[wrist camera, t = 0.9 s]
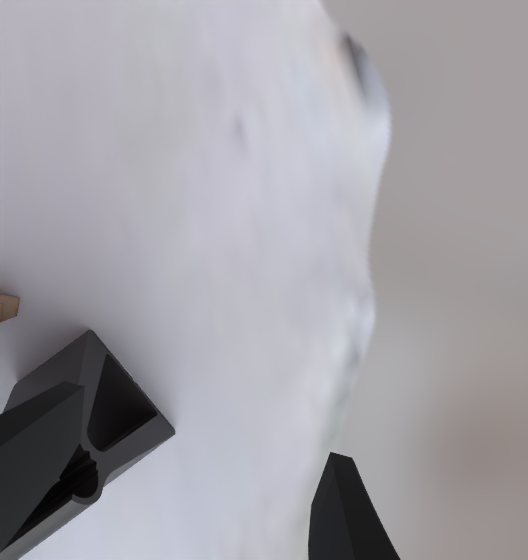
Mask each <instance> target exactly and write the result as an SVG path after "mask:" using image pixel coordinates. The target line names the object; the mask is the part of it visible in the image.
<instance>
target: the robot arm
mask: <svg viewBox="0 0 528 560" xmlns="http://www.w3.org/2000/svg"><path fill="white" fill-rule="evenodd" d="M84 389H85V386H81V385H78V384H74V383H70V382H67V381H64V382H62V383H60V384H58V385H56V386H54V387H52V388H50V389H48V390H46V391H44V392H42V393H40V394H39V395H37V396H35V397H33V398H31V399H29V400H27V401H25V402H23V403H21V404H20V405H18V406H16V407H14V408H12V409H10V410H8V411H6V412H4V413H2V414H0V553H1V552H2V550H3V549H4V548H5V546H6V545H7V544H8V543H9V541H10V540H11V539H12V537H13V536H14V535H15V534H16V532H17V531H18V530H19V528H20V527H21V526H22V525H23V523H24V522H25V521H26V519H27V518H28V517H29V516H30V514H31V513H32V512H33V510H34V509H35V508H36V507H37V505H38V504H39V503H40V501H41V500H42V499H43V497H44V496H45V495H46V494H47V492H48V491H49V490H50V488H51V487H52V486H53V484H54V483H55V482H56V480H57V479H58V478H59V476H60V475H61V474H62V472H63V470H64V469H65V467H66V465H67V464H68V462H69V461H70V459H71V457H72V456H73V454H74V452H75V450H76V449H77V447H78V445H79V444H80V442H81V430H82V417H83V403H84ZM308 556H309V560H400V558H399V556H398V555H397V553H396V551H395V549H394V547H393V545H392V543H391V541H390V539H389V537H388V535H387V533H386V531H385V529H384V528H383V525H382V523H381V521H380V519H379V517H378V515H377V513H376V511H375V509H374V507H373V504H372V502H371V500H370V498H369V495H368V493H367V491H366V489H365V486H364V484H363V482H362V479H361V477H360V475H359V472H358V470H357V467H356V465H355V463H354V461H353V459H352V458H351V457H347V456H343V455H340V454H336V453H332V452H330V455H329V457H328V460H327V463H326V466H325V468H324V471H323V474H322V477H321V480H320V482H319V485H318V488H317V491H316V493H315V496H314V499H313V502H312V505H311V516H310V527H309V541H308Z"/></svg>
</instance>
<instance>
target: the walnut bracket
mask: <svg viewBox="0 0 528 560" xmlns="http://www.w3.org/2000/svg"><path fill="white" fill-rule="evenodd" d="M19 300H20V298H18V297H13V296H8V295H4V294H0V322H2V321H5V320H7V319H10V318H13V317H15V316H17V311H18V305H19Z"/></svg>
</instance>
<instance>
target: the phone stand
mask: <svg viewBox="0 0 528 560" xmlns="http://www.w3.org/2000/svg"><path fill="white" fill-rule="evenodd" d="M64 381H67V382H70V383H74V384H78V385H81V386H85V389H84V403H83V417H82V430H81V442H80V444H79V445H78V447H77V449H76V450H75V452H74V454H73V456H72V457H71V459H70V461H69V462H68V464H67V465H66V467H65V469H64V470H63V472H62V474H61V475H60V476H59V478H58V479H57V480H56V482H55V483H54V484H53V486H52V487H51V488H50V490H49V491H48V492H47V494H46V495H45V496H44V497H43V499H42V500H41V501H40V503H39V504H38V505H37V507H36V508H35V509H34V510H33V512H32V513H31V514H30V516H29V517H28V518H27V519H26V521H25V522H24V523H23V525H22V526H21V527H20V528H19V530H18V531H17V532H16V534H15V535H14V536H13V537H12V539H11V540H10V541H9V543H8V544H7V545H6V546H5V548H4V549H3V550H2V552H1V553H0V560H18V559H19V558H21V557H22V556H23V555H25V554H26V553H27V552H29V551H30V550H31V549H33V548H34V547H35V546H37V545H38V544H40V543H41V542H42V541H44V540H45V539H46V538H48V537H49V536H50V535H52V534H53V533H54V532H56V531H57V530H58V529H60V528H61V527H62V526H64V525H65V524H67V523H68V522H69V521H71V520H72V519H73V518H75V517H76V516H77V515H79V514H80V513H81V512H83V511H84V510H85V509H87V508H88V507H89V506H91V505H92V504H94V503H95V502H96V501H97V500H98V499H99V498H100V496H101V494H102V490H103V487H105V486H106V485H107V484H109V483H110V482H111V481H113V480H114V479H115V478H117V477H118V476H119V475H121V474H122V473H123V472H125V471H126V470H127V469H129V468H130V467H132V466H133V465H134V464H136V463H137V462H138V461H140V460H141V459H142V458H144V457H145V456H146V455H148V454H149V453H150V452H152V451H153V450H154V449H156V448H157V447H159V446H160V445H161V444H163V443H164V442H165V441H167V440H168V439H169V438H171V437H172V436H173V435H175V430H174V428H173V427H172V426H171V424H170V423H169V422H168V421H167V420H166V418H165V417H164V416H163V415H162V414H161V412H160V411H159V410H158V409H157V408H156V406H155V405H154V404H153V403H152V401H151V400H150V399H149V398H148V397H147V395H146V394H145V393H144V392H143V391H142V389H141V388H140V387H139V386H138V385H137V383H134V381H133V379H132V377H131V376H130V375H129V374H128V372H127V371H126V370H125V369H124V368H123V366H122V365H121V364H120V363H119V362H118V360H117V359H116V358H115V357H114V356H113V354H112V353H111V352H110V351H109V350H108V348H107V347H106V346H105V345H104V343H103V342H102V341H101V340H100V339H99V337H98V336H97V335H96V334H95V333H94V332H93V331H92V330H88V331H87V332H86V333H84V334H83V335H82V336H80V337H79V338H78V339H76V340H75V341H74V342H72V343H71V344H70V345H68V346H67V347H65V348H64V349H63V350H61V351H60V352H59V353H57V354H56V355H55V356H53V357H52V358H51V359H49V360H48V361H47V362H45V363H44V364H42V365H41V366H40V367H38V368H37V369H36V370H34V371H33V372H32V373H30V374H29V375H28V376H26V377H25V378H24V379H22V380H21V381H19V382H18V383H17V384H15V385H14V387H13V390H12V392H11V394H10V397H9V399H8V402H7V404H6V406H5V409H4V411H3V413H4V412H6V411H8V410H10V409H12V408H14V407H16V406H18V405H20V404H21V403H23V402H25V401H27V400H29V399H31V398H33V397H35V396H37V395H39V394H40V393H42V392H44V391H46V390H48V389H50V388H52V387H54V386H56V385H58V384H60V383H62V382H64Z"/></svg>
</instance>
